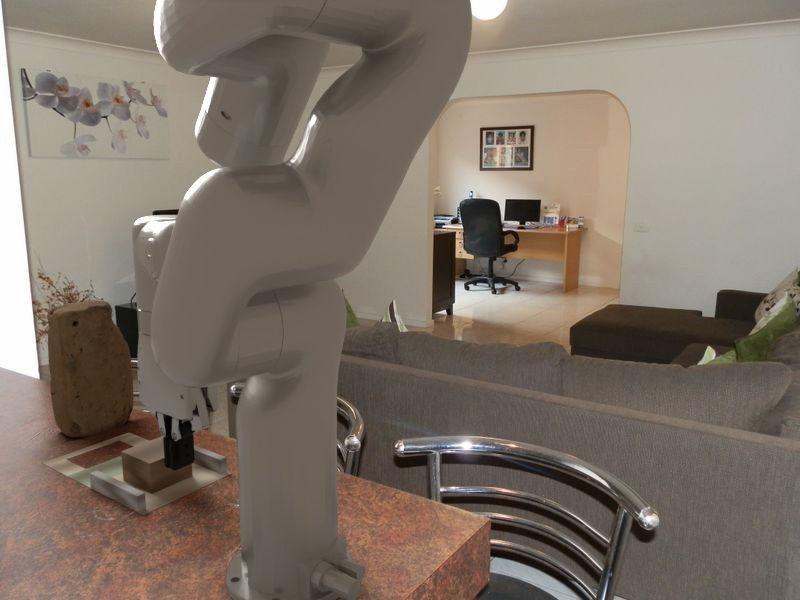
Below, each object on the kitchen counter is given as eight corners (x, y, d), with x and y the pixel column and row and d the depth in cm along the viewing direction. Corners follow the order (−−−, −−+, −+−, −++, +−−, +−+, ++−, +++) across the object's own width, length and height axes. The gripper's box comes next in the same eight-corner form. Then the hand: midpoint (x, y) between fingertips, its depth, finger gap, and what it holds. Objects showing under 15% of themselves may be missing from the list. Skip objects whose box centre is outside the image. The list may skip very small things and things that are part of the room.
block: (71, 444, 98) (59, 312, 94) (50, 431, 103) (37, 304, 99) (141, 424, 106) (132, 301, 102) (119, 412, 111) (109, 294, 107)
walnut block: (192, 476, 86) (190, 447, 85) (151, 494, 81) (149, 463, 81) (164, 464, 90) (162, 436, 89) (123, 480, 85) (121, 451, 84)
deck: (232, 480, 87) (231, 459, 87) (144, 522, 77) (142, 498, 76) (129, 438, 100) (128, 419, 100) (42, 469, 90) (40, 449, 89)
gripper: (239, 324, 77) (244, 471, 81) (161, 306, 86) (168, 440, 89) (185, 338, 71) (193, 495, 75) (106, 317, 80) (117, 459, 83)
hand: (180, 464), depth 82 cm, fingers closed
